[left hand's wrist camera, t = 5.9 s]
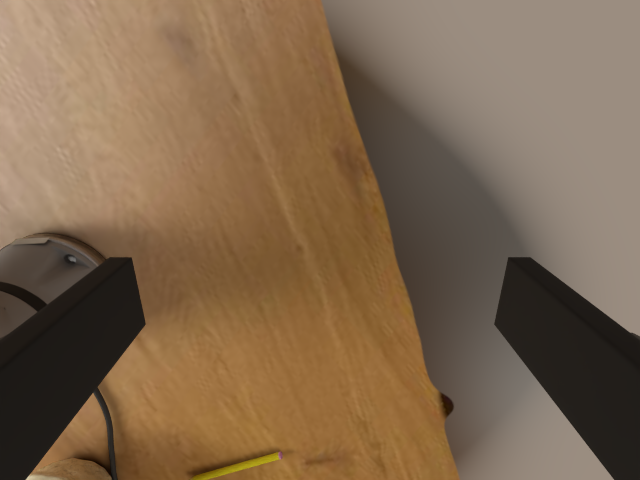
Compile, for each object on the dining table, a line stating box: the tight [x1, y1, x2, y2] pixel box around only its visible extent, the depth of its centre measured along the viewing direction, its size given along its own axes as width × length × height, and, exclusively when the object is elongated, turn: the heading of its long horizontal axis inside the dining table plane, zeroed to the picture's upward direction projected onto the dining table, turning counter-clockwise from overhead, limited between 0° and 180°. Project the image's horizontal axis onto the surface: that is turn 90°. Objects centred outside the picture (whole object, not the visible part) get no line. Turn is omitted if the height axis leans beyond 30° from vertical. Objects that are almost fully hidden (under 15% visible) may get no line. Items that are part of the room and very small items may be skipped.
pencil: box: [189, 451, 282, 480], centre depth 57 cm, size 16×1×1 cm, turn 111°
